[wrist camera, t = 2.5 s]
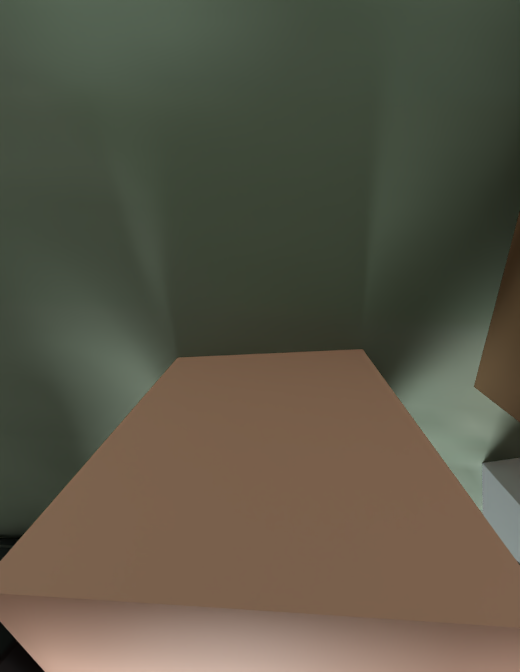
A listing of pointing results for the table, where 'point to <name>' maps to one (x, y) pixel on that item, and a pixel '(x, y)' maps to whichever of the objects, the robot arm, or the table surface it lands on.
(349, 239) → the table surface
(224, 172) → the table surface
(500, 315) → the walnut block
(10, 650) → the robot arm
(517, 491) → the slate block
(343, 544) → the terracotta block
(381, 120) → the table surface
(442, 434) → the table surface
